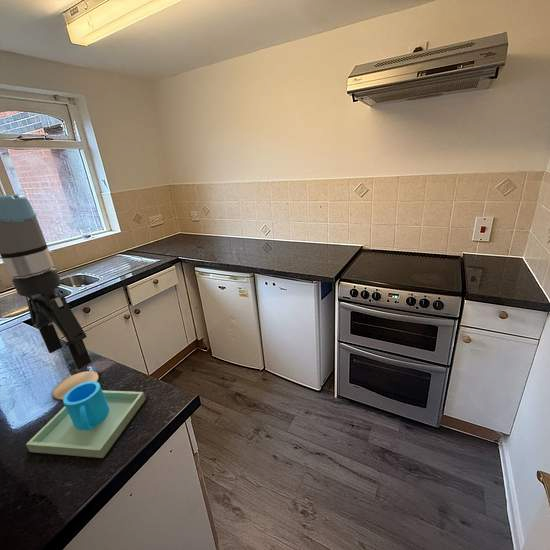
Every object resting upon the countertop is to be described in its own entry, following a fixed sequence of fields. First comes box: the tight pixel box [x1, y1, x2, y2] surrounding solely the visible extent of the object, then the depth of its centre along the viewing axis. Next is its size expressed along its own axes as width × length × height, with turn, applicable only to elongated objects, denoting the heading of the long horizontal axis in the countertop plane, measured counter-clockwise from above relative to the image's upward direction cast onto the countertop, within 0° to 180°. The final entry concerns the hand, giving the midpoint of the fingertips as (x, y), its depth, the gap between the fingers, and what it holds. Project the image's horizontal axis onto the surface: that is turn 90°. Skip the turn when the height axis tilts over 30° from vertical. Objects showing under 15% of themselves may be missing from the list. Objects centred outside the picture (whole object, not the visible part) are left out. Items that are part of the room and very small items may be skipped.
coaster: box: [52, 370, 100, 401], centre depth 91 cm, size 12×12×1 cm
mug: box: [62, 381, 109, 431], centre depth 75 cm, size 12×8×8 cm
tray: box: [25, 389, 147, 459], centre depth 76 cm, size 20×18×2 cm
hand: (69, 357), depth 69 cm, fingers open, 13 cm apart
